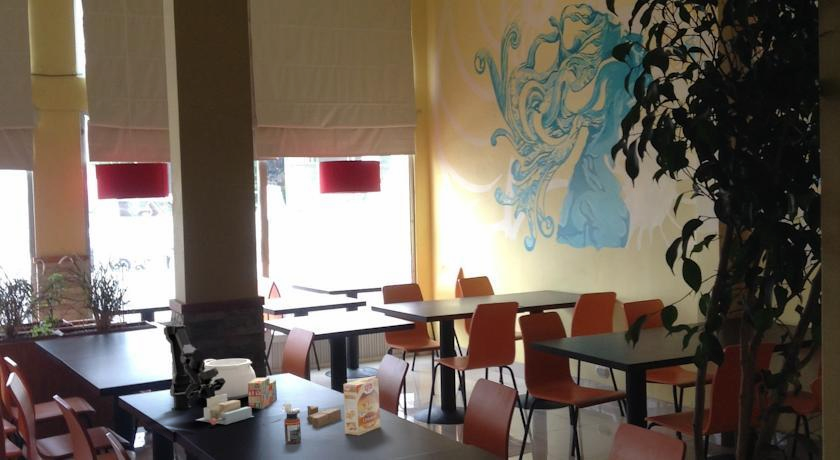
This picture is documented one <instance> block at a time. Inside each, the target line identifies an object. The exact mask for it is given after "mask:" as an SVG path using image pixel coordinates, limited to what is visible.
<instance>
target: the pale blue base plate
mask: <svg viewBox="0 0 840 460" xmlns="http://www.w3.org/2000/svg"><path fill="white" fill-rule="evenodd" d="M252 411H253V410H252V408H251V407H249V406H244V407H240V409H236V410H232V411H229V412H225V413H222V418H220V419H212V420H211V421H210V420H204V417H201V418H198V419H196V421H200V422H206V423H210V424H211V425H214V426H215V425H216V424H220V425H229V424H232V423H236V422H239V421H243V420H246V419H250V418H253V417H255V416H254V415H253V412H252Z"/></svg>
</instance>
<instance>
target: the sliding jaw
mask: <svg viewBox="0 0 840 460" xmlns="http://www.w3.org/2000/svg"><path fill="white" fill-rule="evenodd" d="M227 401H228V400H227V394H222V395H218V396H214V397H210V398H207V399H206V407H203V418H204V420H210V421H211V420H212V419H218V404H220V403H224V402H227Z"/></svg>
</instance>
